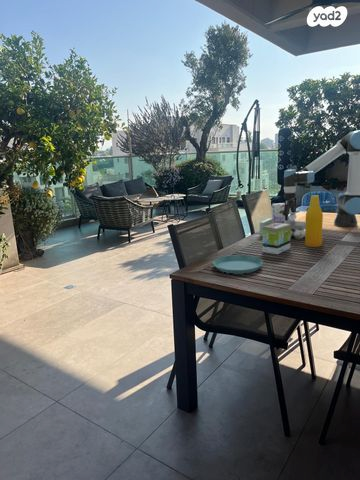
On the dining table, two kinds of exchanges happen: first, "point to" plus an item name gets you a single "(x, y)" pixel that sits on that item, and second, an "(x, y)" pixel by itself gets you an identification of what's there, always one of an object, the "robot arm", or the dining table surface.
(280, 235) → the tea box
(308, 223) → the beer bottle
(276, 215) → the candy box
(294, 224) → the stone slab
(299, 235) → the roller bed
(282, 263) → the dining table surface
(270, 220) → the block
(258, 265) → the saucer
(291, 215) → the roller
